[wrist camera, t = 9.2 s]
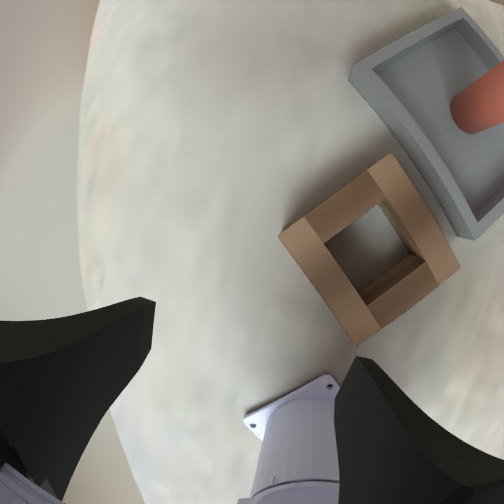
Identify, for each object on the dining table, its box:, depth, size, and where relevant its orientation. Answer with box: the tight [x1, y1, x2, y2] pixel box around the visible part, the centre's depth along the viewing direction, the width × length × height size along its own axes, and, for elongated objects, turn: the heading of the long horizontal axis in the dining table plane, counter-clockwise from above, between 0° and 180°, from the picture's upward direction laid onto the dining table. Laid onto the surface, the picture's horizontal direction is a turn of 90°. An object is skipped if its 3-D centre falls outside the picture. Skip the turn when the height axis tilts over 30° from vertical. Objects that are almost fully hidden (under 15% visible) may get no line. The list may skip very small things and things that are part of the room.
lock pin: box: [450, 60, 504, 134], centre depth 12 cm, size 3×3×8 cm
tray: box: [349, 8, 504, 240], centre depth 15 cm, size 13×12×2 cm
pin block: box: [278, 153, 460, 346], centre depth 18 cm, size 8×8×3 cm
